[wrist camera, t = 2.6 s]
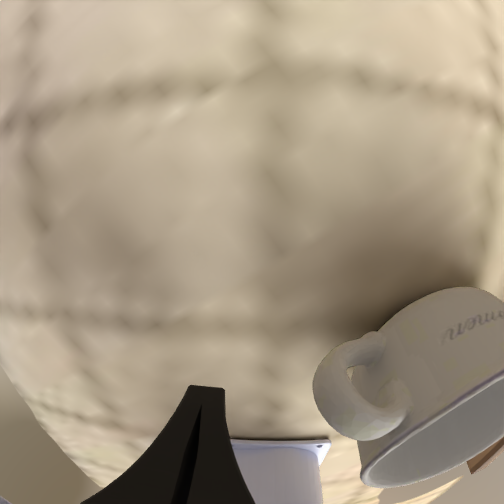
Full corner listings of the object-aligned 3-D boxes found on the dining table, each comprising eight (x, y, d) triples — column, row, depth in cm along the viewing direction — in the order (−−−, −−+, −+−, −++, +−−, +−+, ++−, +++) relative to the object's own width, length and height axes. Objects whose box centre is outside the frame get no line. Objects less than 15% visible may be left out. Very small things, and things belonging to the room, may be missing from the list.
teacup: (500, 316, 15) (559, 388, 8) (395, 412, 18) (423, 496, 11) (397, 181, 12) (525, 253, 4) (252, 341, 15) (247, 478, 8)
